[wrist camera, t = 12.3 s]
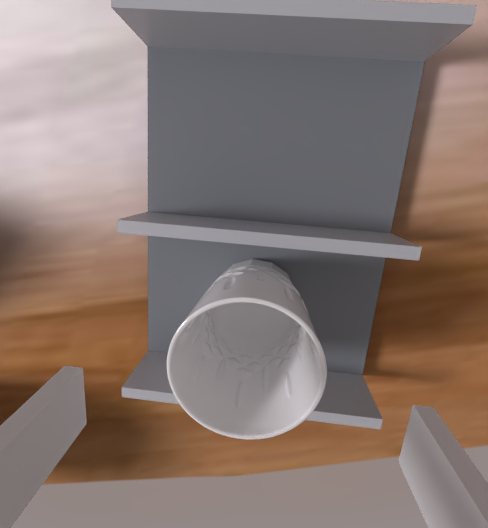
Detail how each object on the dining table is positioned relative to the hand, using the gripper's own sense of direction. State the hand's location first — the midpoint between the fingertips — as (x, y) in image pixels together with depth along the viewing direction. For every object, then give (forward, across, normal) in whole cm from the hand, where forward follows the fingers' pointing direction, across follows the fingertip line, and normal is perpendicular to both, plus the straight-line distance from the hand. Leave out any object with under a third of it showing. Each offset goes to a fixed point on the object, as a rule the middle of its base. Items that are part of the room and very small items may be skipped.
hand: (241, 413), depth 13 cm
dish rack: (+14, 0, +6) cm, 15 cm away
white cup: (+13, 0, 0) cm, 13 cm away
